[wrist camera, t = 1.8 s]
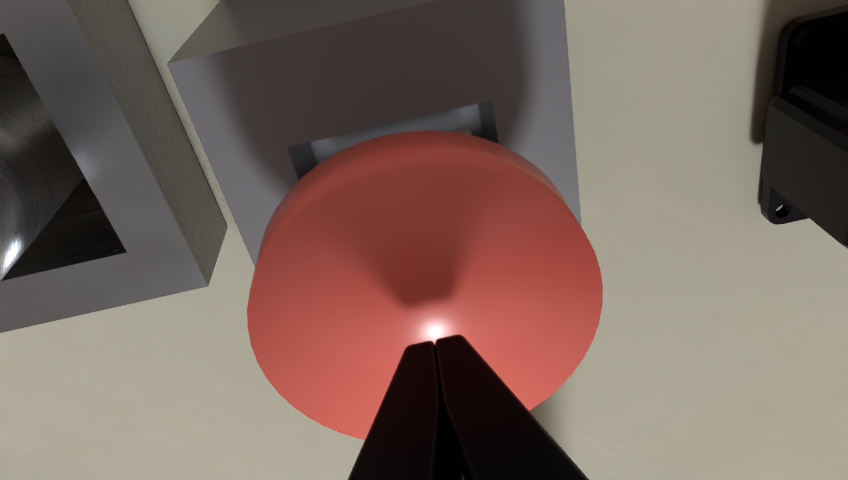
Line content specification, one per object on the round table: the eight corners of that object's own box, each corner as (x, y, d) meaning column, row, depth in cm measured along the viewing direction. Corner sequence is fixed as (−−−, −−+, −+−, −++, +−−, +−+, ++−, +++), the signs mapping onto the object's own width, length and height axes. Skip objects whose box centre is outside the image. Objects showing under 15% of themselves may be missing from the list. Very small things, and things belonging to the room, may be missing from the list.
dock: (498, -68, 15) (562, -30, 11) (533, 209, 20) (588, 320, 15) (222, -2, 16) (167, 64, 11) (316, 257, 20) (305, 383, 15)
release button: (526, 46, 12) (593, 122, 8) (553, 283, 15) (609, 407, 11) (232, 114, 12) (187, 215, 9) (319, 335, 15) (309, 471, 12)
